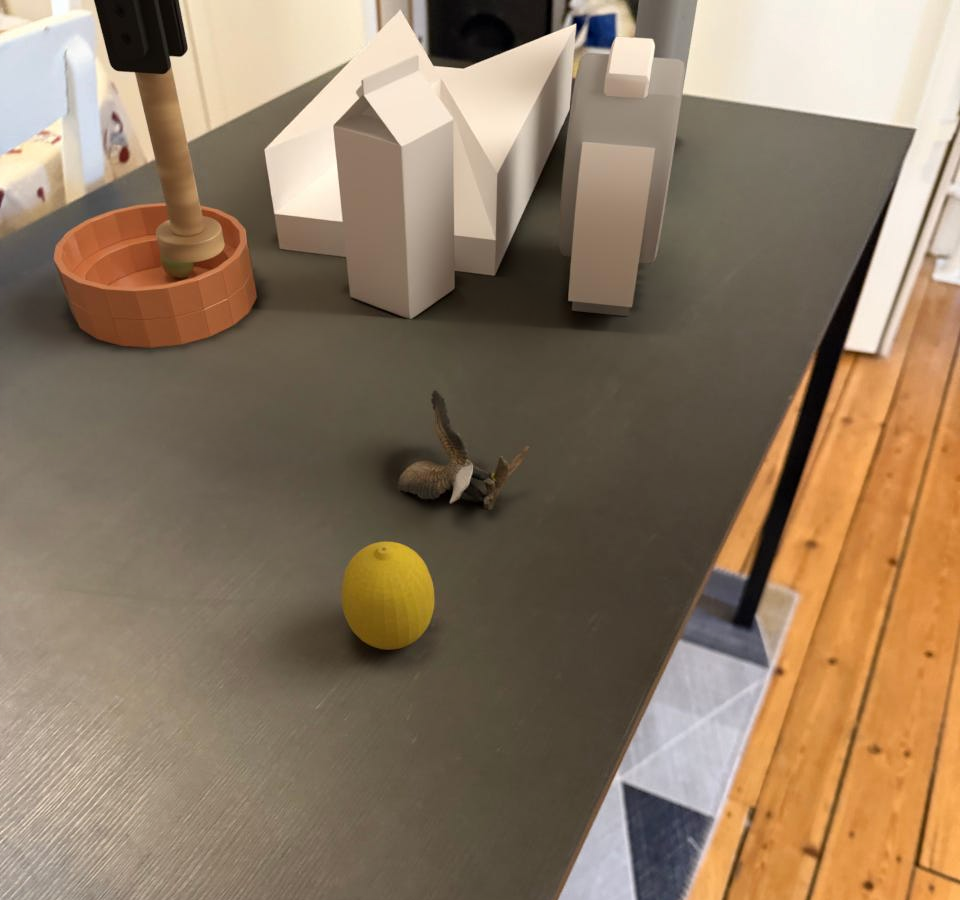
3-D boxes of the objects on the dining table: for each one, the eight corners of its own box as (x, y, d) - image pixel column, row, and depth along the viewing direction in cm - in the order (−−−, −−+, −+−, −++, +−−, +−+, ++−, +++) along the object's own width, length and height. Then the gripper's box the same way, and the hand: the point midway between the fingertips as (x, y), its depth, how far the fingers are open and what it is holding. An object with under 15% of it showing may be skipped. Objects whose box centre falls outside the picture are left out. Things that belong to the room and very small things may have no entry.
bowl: (47, 349, 80) (22, 283, 75) (114, 260, 90) (96, 198, 86) (230, 361, 79) (216, 295, 74) (276, 270, 89) (266, 207, 85)
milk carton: (455, 290, 87) (453, 63, 73) (410, 322, 83) (398, 89, 69) (396, 268, 90) (382, 46, 75) (349, 298, 86) (326, 70, 72)
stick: (151, 260, 57) (69, -56, 45) (172, 231, 60) (100, -75, 48) (213, 265, 57) (148, -52, 45) (232, 235, 59) (175, -72, 47)
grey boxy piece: (571, 239, 94) (592, 7, 79) (654, 246, 93) (691, 14, 78) (549, 329, 83) (568, 78, 67) (644, 339, 82) (684, 87, 67)
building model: (494, 275, 89) (497, 173, 82) (279, 248, 92) (264, 148, 85) (569, 109, 118) (576, 23, 111) (404, 93, 121) (400, 8, 114)
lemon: (334, 663, 57) (319, 570, 51) (367, 601, 60) (357, 507, 54) (418, 684, 56) (413, 592, 50) (447, 620, 59) (446, 527, 53)
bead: (160, 283, 86) (152, 252, 83) (170, 267, 88) (162, 236, 85) (191, 285, 86) (184, 254, 83) (201, 269, 87) (194, 238, 85)
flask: (638, 141, 111) (673, -124, 93) (675, 146, 111) (719, -120, 92) (605, 199, 101) (638, -87, 82) (647, 206, 100) (689, -82, 81)
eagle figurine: (538, 466, 68) (443, 405, 70) (524, 431, 61) (419, 364, 63) (477, 550, 68) (384, 486, 70) (457, 524, 61) (354, 454, 63)
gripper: (30, -458, 42) (136, 14, 56) (-170, -474, 31) (21, 112, 45) (190, -453, 41) (257, 21, 55) (42, -468, 31) (169, 121, 45)
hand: (150, 59), depth 50 cm, fingers closed on stick, 2 cm apart
